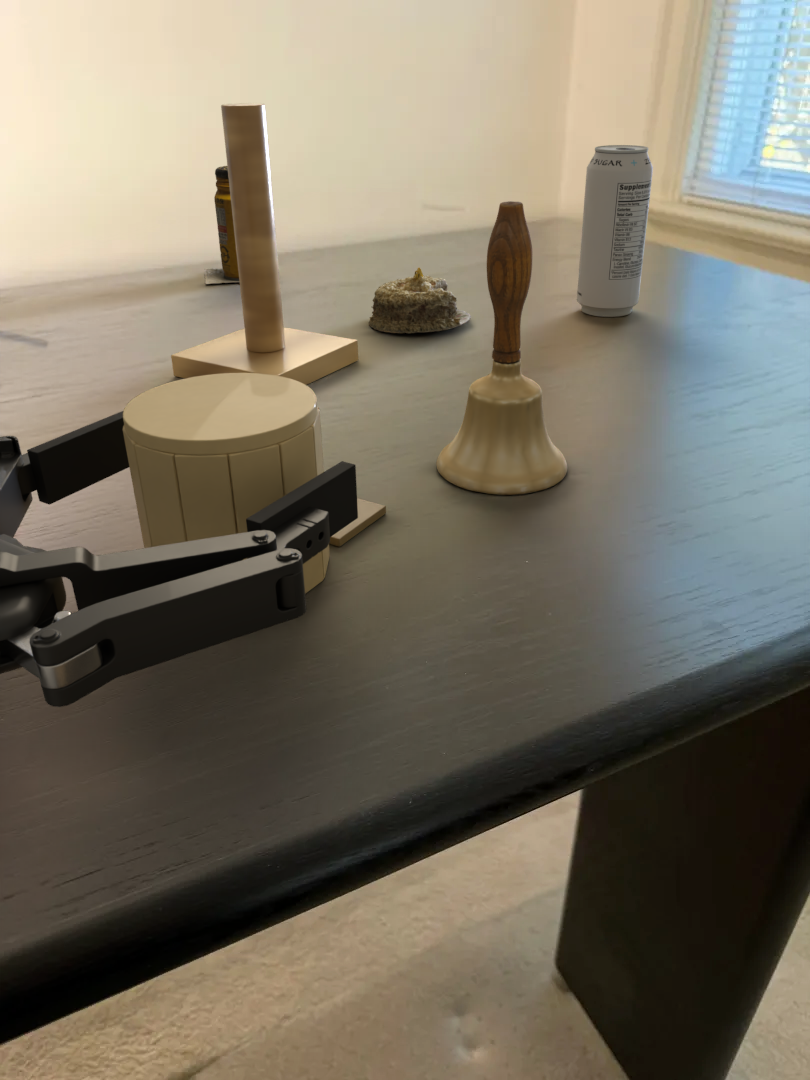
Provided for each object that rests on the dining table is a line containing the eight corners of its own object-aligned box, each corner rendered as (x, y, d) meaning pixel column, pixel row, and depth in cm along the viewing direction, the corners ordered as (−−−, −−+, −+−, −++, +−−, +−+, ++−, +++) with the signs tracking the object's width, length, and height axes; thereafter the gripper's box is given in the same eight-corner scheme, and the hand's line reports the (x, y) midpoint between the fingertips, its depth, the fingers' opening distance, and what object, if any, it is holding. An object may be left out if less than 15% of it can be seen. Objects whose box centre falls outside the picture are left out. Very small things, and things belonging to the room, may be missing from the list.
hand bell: (582, 492, 53) (607, 212, 45) (444, 498, 53) (446, 216, 45) (551, 438, 60) (568, 189, 53) (429, 444, 60) (429, 193, 52)
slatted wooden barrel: (115, 582, 45) (80, 416, 41) (282, 484, 55) (269, 341, 50) (250, 636, 41) (227, 456, 36) (405, 518, 51) (402, 366, 46)
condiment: (280, 280, 102) (270, 169, 97) (205, 285, 101) (191, 172, 95) (275, 267, 109) (265, 161, 103) (204, 271, 107) (191, 164, 101)
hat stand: (173, 376, 73) (133, 107, 64) (260, 342, 81) (236, 99, 72) (276, 399, 68) (250, 110, 58) (358, 360, 76) (347, 101, 66)
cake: (379, 347, 81) (372, 288, 79) (361, 320, 90) (354, 266, 87) (484, 330, 82) (480, 271, 80) (456, 305, 91) (452, 251, 88)
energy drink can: (606, 299, 93) (621, 143, 85) (650, 311, 88) (669, 147, 81) (563, 308, 90) (574, 147, 82) (605, 321, 85) (621, 152, 78)
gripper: (-337, 664, 36) (83, 473, 52) (72, 955, 24) (457, 593, 40) (-424, 499, 32) (56, 347, 48) (8, 745, 20) (459, 437, 36)
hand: (238, 458), depth 44 cm, fingers open, 13 cm apart
